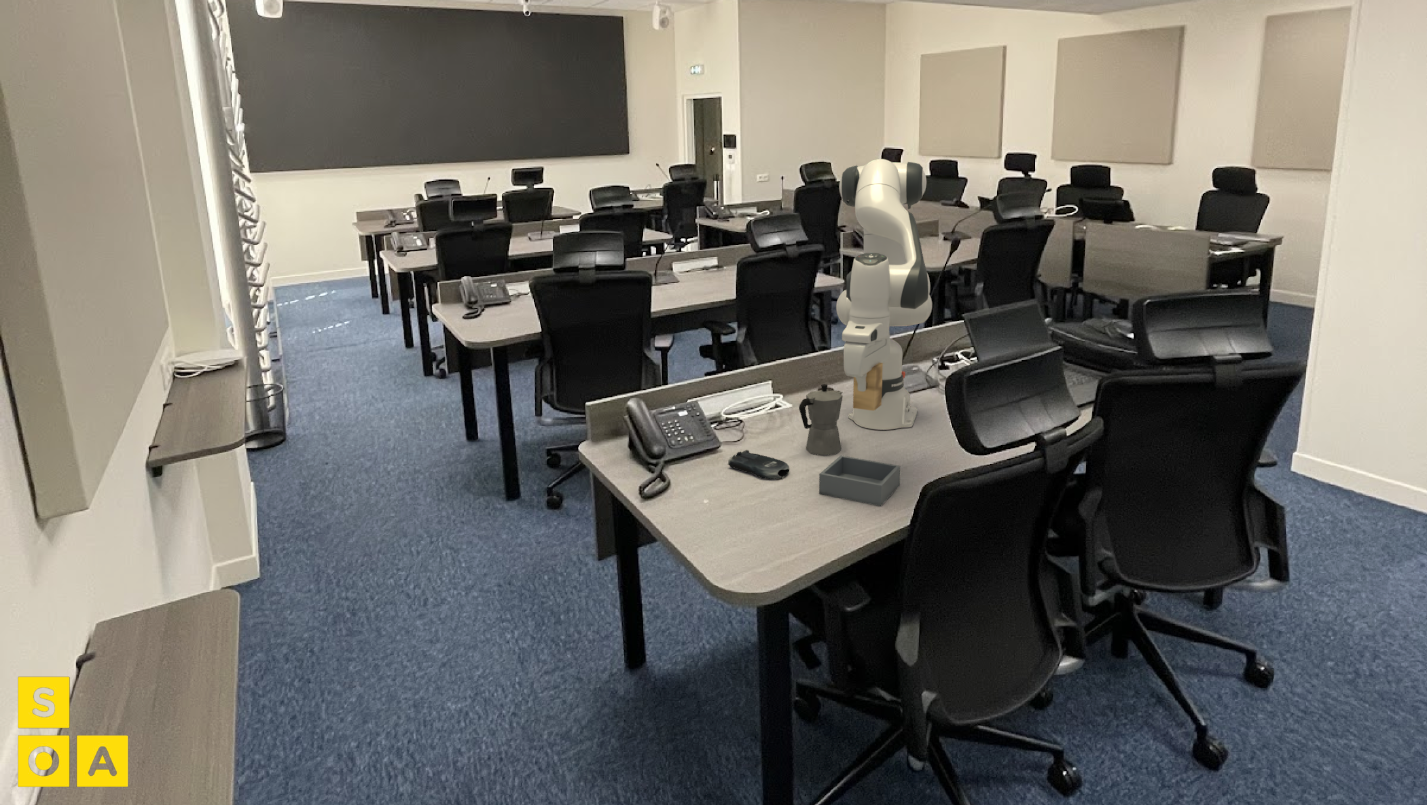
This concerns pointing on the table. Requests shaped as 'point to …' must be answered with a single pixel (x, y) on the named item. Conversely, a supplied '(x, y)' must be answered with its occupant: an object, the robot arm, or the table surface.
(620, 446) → the table surface
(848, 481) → the desk bin
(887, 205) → the robot arm
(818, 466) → the table surface
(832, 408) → the coffeepot
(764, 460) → the electronic device
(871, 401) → the oak block
